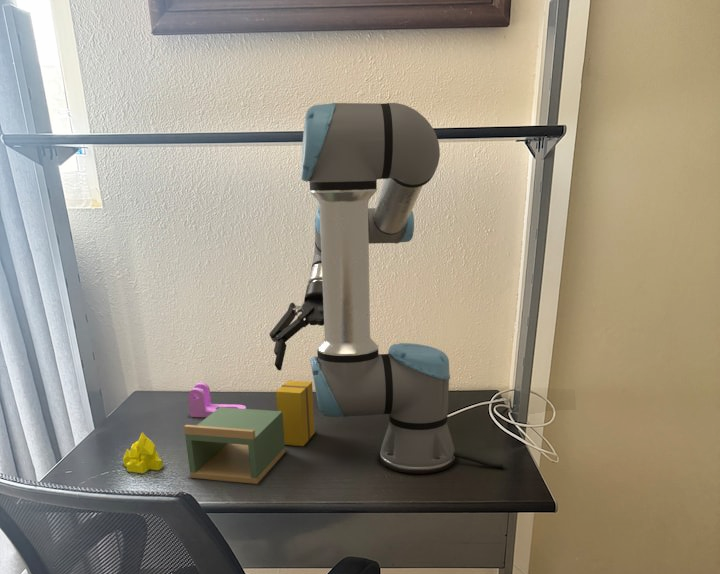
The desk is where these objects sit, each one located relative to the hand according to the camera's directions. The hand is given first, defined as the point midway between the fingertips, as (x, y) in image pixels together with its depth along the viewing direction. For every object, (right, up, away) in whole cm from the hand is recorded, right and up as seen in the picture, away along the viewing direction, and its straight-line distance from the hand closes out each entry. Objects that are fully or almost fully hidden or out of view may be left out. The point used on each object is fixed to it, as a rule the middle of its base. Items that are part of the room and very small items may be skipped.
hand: (306, 369), depth 157 cm
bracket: (-22, -9, +14) cm, 28 cm away
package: (-2, -16, -2) cm, 16 cm away
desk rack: (-12, -22, -14) cm, 29 cm away
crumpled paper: (-32, -22, -14) cm, 42 cm away
